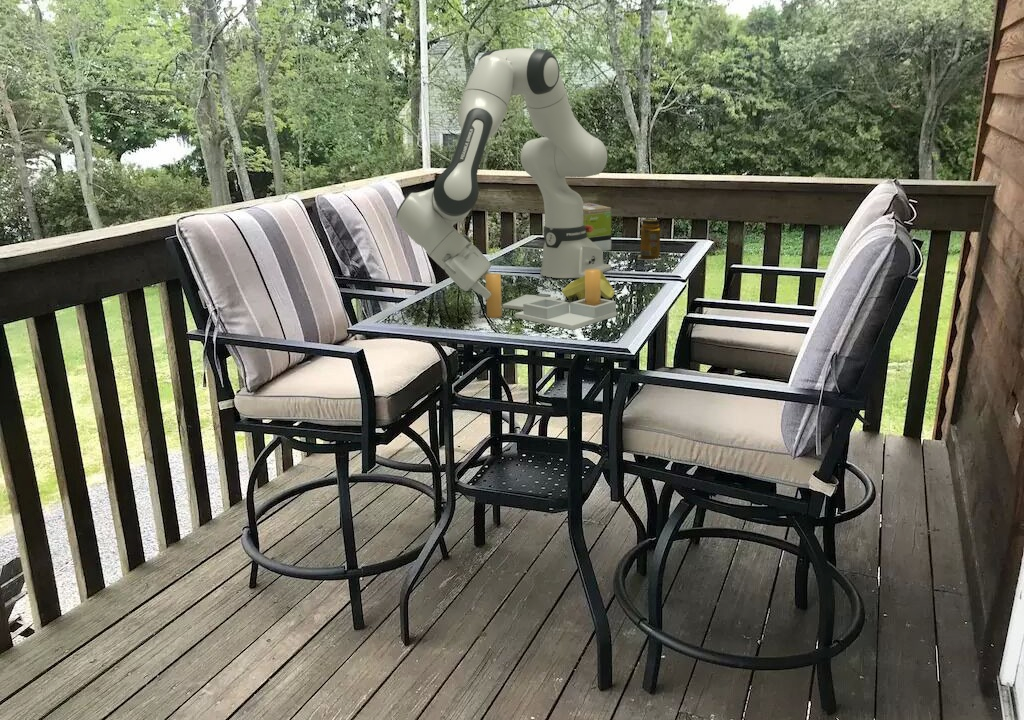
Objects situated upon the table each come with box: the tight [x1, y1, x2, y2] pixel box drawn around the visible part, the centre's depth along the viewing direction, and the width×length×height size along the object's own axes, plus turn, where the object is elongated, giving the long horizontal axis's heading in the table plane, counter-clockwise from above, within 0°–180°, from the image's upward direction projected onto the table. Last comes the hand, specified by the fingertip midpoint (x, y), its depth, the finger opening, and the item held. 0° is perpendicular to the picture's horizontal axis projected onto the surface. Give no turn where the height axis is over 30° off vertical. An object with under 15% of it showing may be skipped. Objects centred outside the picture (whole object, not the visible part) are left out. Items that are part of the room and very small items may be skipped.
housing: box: [514, 269, 618, 331], centre depth 191 cm, size 16×18×11 cm
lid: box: [502, 293, 561, 311], centre depth 206 cm, size 14×10×1 cm
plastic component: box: [561, 272, 616, 300], centre depth 208 cm, size 20×7×10 cm
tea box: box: [583, 202, 612, 252], centre depth 278 cm, size 15×10×15 cm, turn 25°
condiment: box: [637, 218, 662, 261], centre depth 258 cm, size 7×8×12 cm
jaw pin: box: [485, 272, 503, 319], centre depth 195 cm, size 4×4×10 cm
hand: (493, 292), depth 194 cm, fingers open, 8 cm apart
